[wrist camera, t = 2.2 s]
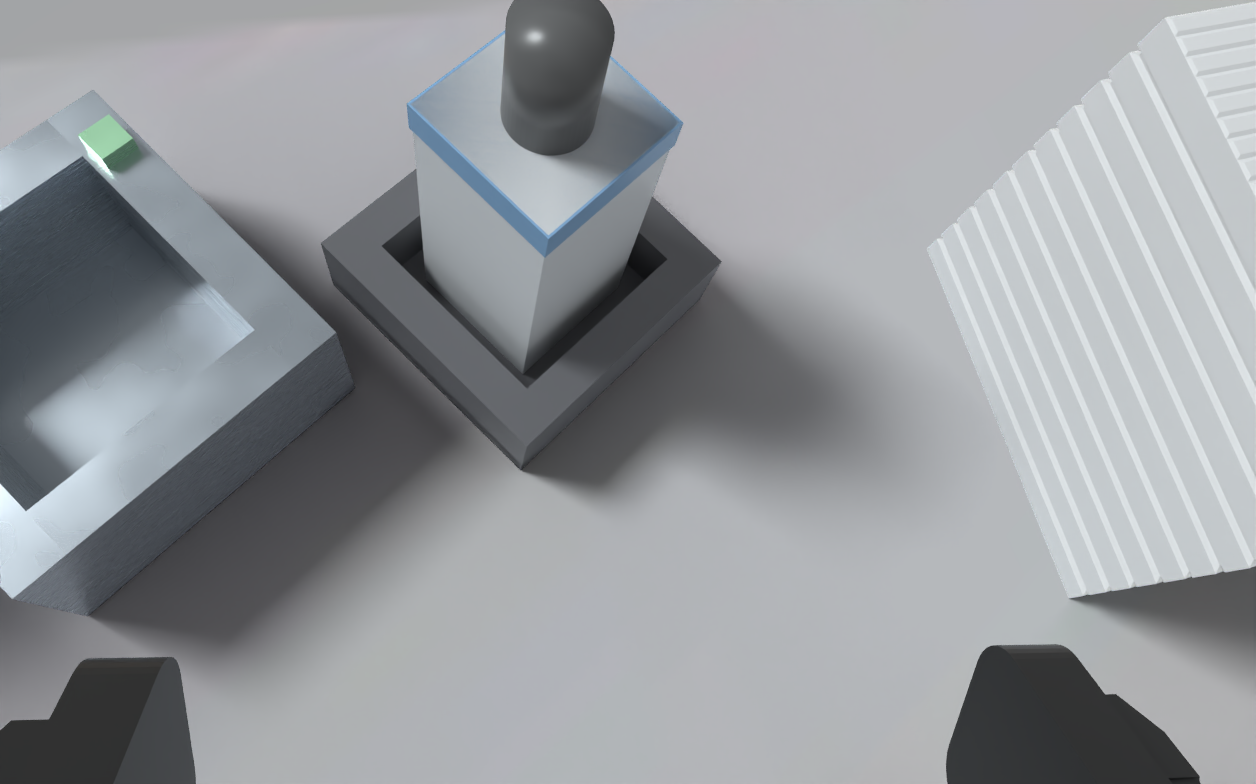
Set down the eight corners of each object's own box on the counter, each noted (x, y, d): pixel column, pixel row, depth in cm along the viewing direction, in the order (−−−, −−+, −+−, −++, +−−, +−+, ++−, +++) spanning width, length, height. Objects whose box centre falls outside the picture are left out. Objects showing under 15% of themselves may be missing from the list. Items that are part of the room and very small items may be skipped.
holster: (520, 470, 25) (527, 446, 23) (333, 285, 26) (320, 243, 23) (699, 299, 27) (721, 261, 25) (522, 132, 28) (528, 81, 26)
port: (87, 616, 22) (2, 597, 18) (-135, 376, 23) (-265, 306, 19) (355, 387, 25) (333, 325, 21) (146, 178, 26) (86, 79, 22)
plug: (522, 376, 25) (561, 168, 15) (423, 279, 26) (397, 14, 16) (620, 287, 26) (714, 40, 17) (523, 195, 27) (559, -100, 17)
